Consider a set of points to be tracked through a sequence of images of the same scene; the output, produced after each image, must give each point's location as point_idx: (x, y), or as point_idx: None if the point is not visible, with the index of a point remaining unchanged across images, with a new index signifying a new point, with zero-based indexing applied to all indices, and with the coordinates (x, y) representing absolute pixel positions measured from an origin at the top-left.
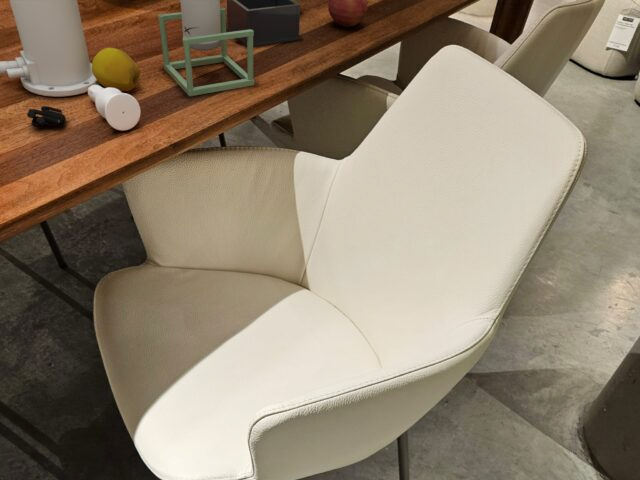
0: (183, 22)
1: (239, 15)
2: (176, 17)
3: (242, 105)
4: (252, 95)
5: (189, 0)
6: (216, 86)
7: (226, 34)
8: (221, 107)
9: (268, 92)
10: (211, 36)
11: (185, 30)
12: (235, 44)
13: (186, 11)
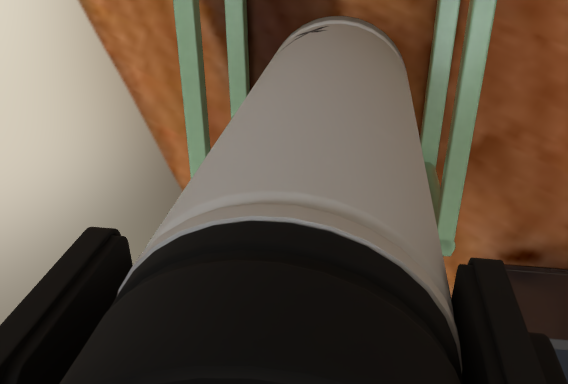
0: (330, 33)
1: (560, 317)
2: (463, 48)
3: (134, 74)
4: (183, 126)
5: (265, 77)
6: (228, 49)
7: (187, 142)
8: (136, 14)
9: (188, 171)
10: (182, 84)
11: (319, 29)
12: (522, 244)
13: (294, 52)
